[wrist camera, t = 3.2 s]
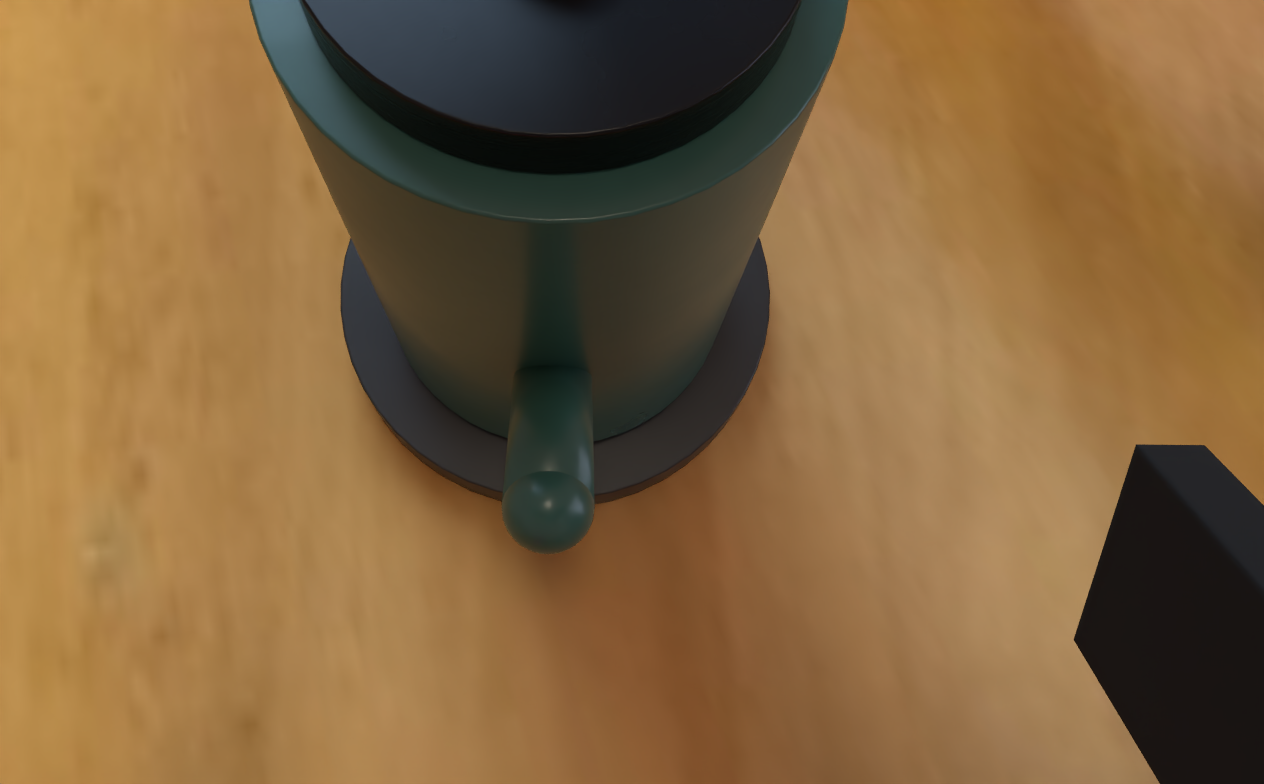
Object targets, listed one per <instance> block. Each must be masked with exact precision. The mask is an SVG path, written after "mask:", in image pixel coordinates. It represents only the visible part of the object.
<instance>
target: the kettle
mask: <svg viewBox="0 0 1264 784" xmlns="http://www.w3.org/2000/svg"><path fill="white" fill-rule="evenodd" d="M249 4H250V8H251V12H252V15H253V19H254V22H255V26H256V29H257V33H258V36H259V40H260V42H261V44H262V46H263V48H264V51H265V53H266V55H267V57H268V59H269V61H270V64H271V66H272V68H273V70H274V72H275V74H276V77H277V79H278V81H279V83H280V85H281V87H282V90H283V92H284V94H285V96H286V98H287V100H288V103H289V105H290V107H291V109H292V111H293V113H294V116H295V118H296V120H297V122H298V124H299V126H300V129H301V131H302V133H303V135H304V137H305V139H306V142H307V144H308V146H309V148H310V150H311V152H312V155H313V157H314V159H315V161H316V163H317V165H318V168H319V170H320V172H321V174H322V176H323V178H324V181H325V183H326V185H327V187H328V189H329V191H330V194H331V196H332V198H333V200H334V202H335V204H336V207H337V209H338V211H339V213H340V215H341V217H342V220H343V222H344V224H345V226H346V228H347V230H348V233H349V235H350V237H351V239H352V241H353V243H354V246H355V248H356V250H357V252H358V254H359V256H360V259H361V261H362V263H363V265H364V267H365V269H366V272H367V274H368V276H369V278H370V280H371V282H372V285H373V287H374V289H375V291H376V293H377V295H378V298H379V300H380V302H381V304H382V306H383V308H384V311H385V313H386V315H387V317H388V319H389V321H390V324H391V326H392V328H393V330H394V332H395V334H396V337H397V339H398V341H399V343H400V345H401V347H402V350H403V352H404V354H405V356H406V358H407V360H408V362H409V363H410V365H411V366H412V368H413V370H414V371H415V373H416V374H417V376H418V377H419V379H420V380H421V381H422V382H423V383H424V385H425V386H426V387H427V388H428V389H429V390H430V392H431V393H432V394H433V395H434V396H435V397H436V398H438V399H439V400H440V401H441V402H442V403H443V404H444V405H445V406H447V407H448V408H449V409H450V410H452V411H453V412H455V413H456V414H458V415H459V416H460V417H462V418H463V419H465V420H466V421H468V422H470V423H472V424H474V425H476V426H478V427H480V428H482V429H484V430H486V431H488V432H491V433H494V434H497V435H499V436H502V437H505V438H508V442H507V453H506V464H505V474H504V485H503V496H502V516H503V521H504V523H505V526H506V528H507V531H508V532H509V534H510V535H511V536H512V538H513V539H514V540H515V541H516V542H517V543H518V544H519V545H521V546H522V547H524V548H526V549H528V550H530V551H533V552H536V553H540V554H555V553H560V552H563V551H565V550H568V549H570V548H572V547H573V546H575V545H576V544H577V543H578V542H579V541H581V539H582V538H583V537H584V536H585V535H586V533H587V532H588V530H589V528H590V526H591V523H592V521H593V516H594V509H595V502H594V451H593V441H598V440H602V439H605V438H608V437H612V436H615V435H618V434H621V433H623V432H625V431H628V430H630V429H632V428H634V427H636V426H638V425H640V424H642V423H644V422H645V421H647V420H649V419H650V418H652V417H653V416H655V415H656V414H658V413H660V412H661V411H662V410H663V409H664V408H666V407H667V406H668V405H669V404H670V403H672V402H673V401H674V400H675V399H676V398H677V397H678V396H679V395H680V394H681V393H682V392H683V391H684V390H685V388H686V387H687V386H688V385H689V384H690V383H691V382H692V380H693V379H694V377H695V376H696V374H697V373H698V372H699V370H700V369H701V367H702V366H703V364H704V362H705V360H706V358H707V356H708V354H709V352H710V350H711V348H712V346H713V343H714V341H715V339H716V336H717V334H718V332H719V329H720V327H721V324H722V322H723V320H724V317H725V315H726V313H727V310H728V308H729V306H730V303H731V301H732V298H733V296H734V294H735V291H736V289H737V287H738V284H739V282H740V279H741V277H742V275H743V272H744V270H745V268H746V265H747V263H748V260H749V258H750V256H751V253H752V251H753V249H754V246H755V244H756V242H757V239H758V237H759V234H760V232H761V230H762V227H763V225H764V223H765V220H766V218H767V215H768V213H769V211H770V208H771V206H772V204H773V201H774V199H775V196H776V194H777V192H778V189H779V187H780V185H781V182H782V180H783V178H784V175H785V173H786V170H787V168H788V166H789V163H790V161H791V159H792V156H793V154H794V151H795V149H796V147H797V144H798V142H799V140H800V137H801V135H802V132H803V130H804V128H805V125H806V123H807V121H808V118H809V116H810V113H811V111H812V109H813V106H814V104H815V102H816V99H817V97H818V95H819V92H820V90H821V87H822V85H823V83H824V80H825V78H826V76H827V73H828V71H829V68H830V66H831V64H832V61H833V59H834V56H835V53H836V50H837V47H838V44H839V41H840V37H841V34H842V31H843V28H844V24H845V17H846V11H847V5H848V0H249Z"/></svg>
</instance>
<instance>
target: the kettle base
mask: <svg viewBox="0 0 1264 784" xmlns="http://www.w3.org/2000/svg"><path fill="white" fill-rule="evenodd" d="M769 304H770V290H769V280H768V271H767V265H766V261H765V257H764V253H763V249H762V245H761V241H760V239H759V237H758V239H757V242H756V244H755V246H754V249H753V251H752V253H751V256H750V258H749V260H748V263H747V265H746V268H745V270H744V272H743V275H742V277H741V279H740V282H739V284H738V287H737V289H736V291H735V294H734V296H733V298H732V301H731V303H730V306H729V308H728V310H727V313H726V315H725V317H724V320H723V322H722V324H721V327H720V329H719V332H718V334H717V336H716V339H715V341H714V343H713V346H712V348H711V350H710V352H709V354H708V356H707V358H706V360H705V362H704V364H703V366H702V367H701V369H700V370H699V372H698V373H697V374H696V376H695V377H694V379H693V380H692V382H691V383H690V384H689V385H688V386H687V387H686V388H685V390H684V391H683V392H682V393H681V394H680V395H679V396H678V397H677V398H676V399H675V400H674V401H673V402H672V403H670V404H669V405H668V406H667V407H666V408H664V409H663V410H662V411H661V412H660V413H658V414H656V415H655V416H653V417H652V418H650V419H649V420H647V421H645V422H644V423H642V424H640V425H638V426H636V427H634V428H632V429H630V430H628V431H625V432H623V433H621V434H618V435H615V436H612V437H608V438H605V439H602V440H598V441H593V451H594V502H595V504H598V503H603V502H608V501H613V500H616V499H619V498H622V497H625V496H628V495H631V494H634V493H637V492H639V491H641V490H643V489H645V488H648V487H650V486H652V485H654V484H656V483H658V482H660V481H662V480H664V479H665V478H667V477H668V476H670V475H671V474H673V473H674V472H676V471H677V470H679V469H681V468H682V467H684V466H685V465H686V464H688V463H689V462H690V461H691V460H692V459H693V458H694V457H696V456H697V455H698V454H699V453H700V452H701V451H703V450H704V449H705V448H706V447H707V446H708V445H709V443H710V442H711V441H712V440H713V439H714V438H715V437H716V436H717V434H718V433H719V432H720V431H721V430H722V429H723V428H724V426H725V425H726V423H727V422H728V420H729V419H730V417H731V416H732V414H733V412H734V411H735V409H736V408H737V406H738V405H739V403H740V401H741V400H742V398H743V396H744V395H745V393H746V391H747V389H748V387H749V385H750V382H751V380H752V378H753V376H754V374H755V372H756V370H757V367H758V364H759V361H760V358H761V354H762V351H763V348H764V345H765V340H766V334H767V328H768V322H769ZM341 316H342V323H343V331H344V338H345V341H346V345H347V348H348V352H349V355H350V359H351V362H352V365H353V367H354V369H355V371H356V374H357V376H358V378H359V380H360V383H361V385H362V387H363V389H364V391H365V392H366V394H367V395H368V397H369V398H370V400H371V402H372V403H373V405H374V406H375V408H376V410H377V411H378V413H379V414H380V416H381V417H382V419H383V420H384V422H385V424H386V425H387V426H388V427H389V428H390V429H391V431H392V432H393V433H394V434H395V435H396V437H397V438H398V439H399V440H400V441H401V443H402V444H403V445H404V446H405V447H407V448H408V449H409V450H410V451H411V452H412V453H413V454H414V455H415V456H417V457H418V458H419V459H420V460H421V461H422V462H423V463H425V464H426V465H428V466H429V467H431V468H432V469H433V470H435V471H436V472H438V473H439V474H441V475H442V476H444V477H445V478H447V479H449V480H451V481H453V482H455V483H457V484H459V485H461V486H463V487H465V488H467V489H469V490H471V491H473V492H476V493H479V494H482V495H485V496H488V497H491V498H494V499H496V500H500V501H502V496H503V485H504V474H505V464H506V453H507V442H508V438H505V437H502V436H499V435H497V434H494V433H491V432H488V431H486V430H484V429H482V428H480V427H478V426H476V425H474V424H472V423H470V422H468V421H466V420H465V419H463V418H462V417H460V416H459V415H458V414H456V413H455V412H453V411H452V410H450V409H449V408H448V407H447V406H445V405H444V404H443V403H442V402H441V401H440V400H439V399H438V398H436V397H435V396H434V395H433V394H432V393H431V392H430V390H429V389H428V388H427V387H426V386H425V385H424V383H423V382H422V381H421V380H420V379H419V377H418V376H417V374H416V373H415V371H414V370H413V368H412V366H411V365H410V363H409V362H408V360H407V358H406V356H405V354H404V352H403V350H402V347H401V345H400V343H399V341H398V339H397V337H396V334H395V332H394V330H393V328H392V326H391V324H390V321H389V319H388V317H387V315H386V313H385V311H384V308H383V306H382V304H381V302H380V300H379V298H378V295H377V293H376V291H375V289H374V287H373V285H372V282H371V280H370V278H369V276H368V274H367V272H366V269H365V267H364V265H363V263H362V261H361V259H360V256H359V254H358V252H357V250H356V248H355V246H354V243H353V241H352V239H351V238H350V242H349V245H348V249H347V252H346V255H345V260H344V266H343V273H342V280H341Z"/></svg>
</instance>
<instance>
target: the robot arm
mask: <svg viewBox="0 0 1264 784" xmlns="http://www.w3.org/2000/svg"><path fill="white" fill-rule="evenodd" d="M1074 641H1075V643H1076V644H1077V646H1078V648H1079V649H1080V651H1081V653H1082V654H1083V656H1084V658H1085V659H1086V661H1087V663H1088V664H1089V666H1090V668H1091V669H1092V671H1093V673H1094V674H1095V676H1096V678H1097V679H1098V681H1099V683H1100V684H1101V686H1102V688H1103V689H1104V691H1105V693H1106V694H1107V696H1108V698H1109V699H1110V701H1111V703H1112V704H1113V706H1114V708H1115V709H1116V711H1117V713H1118V714H1119V716H1120V718H1121V719H1122V721H1123V723H1124V724H1125V726H1126V728H1127V729H1128V731H1129V733H1130V734H1131V736H1132V738H1133V739H1134V741H1135V743H1136V744H1137V746H1138V748H1139V749H1140V751H1141V753H1142V754H1143V756H1144V758H1145V759H1146V761H1147V763H1148V764H1149V766H1150V768H1151V769H1152V771H1153V773H1154V774H1155V776H1156V778H1157V779H1158V781H1159V783H1160V784H1264V505H1263V504H1262V503H1261V502H1260V501H1259V500H1258V499H1257V498H1256V497H1255V496H1254V495H1253V494H1252V493H1251V492H1250V491H1249V490H1248V489H1247V488H1246V487H1245V486H1244V485H1243V484H1242V483H1241V482H1240V481H1239V480H1238V479H1237V478H1236V477H1235V476H1234V475H1233V474H1232V473H1231V472H1230V471H1229V470H1228V469H1227V468H1226V467H1225V466H1224V465H1223V464H1222V463H1221V462H1220V461H1219V460H1218V459H1217V458H1216V457H1215V455H1214V454H1213V453H1212V452H1211V451H1210V450H1209V449H1208V448H1207V447H1206V446H1205V445H1136V447H1135V450H1134V453H1133V456H1132V459H1131V462H1130V465H1129V469H1128V472H1127V475H1126V478H1125V481H1124V484H1123V487H1122V490H1121V494H1120V497H1119V500H1118V503H1117V506H1116V509H1115V512H1114V515H1113V519H1112V522H1111V525H1110V528H1109V531H1108V534H1107V537H1106V540H1105V544H1104V547H1103V550H1102V553H1101V556H1100V559H1099V562H1098V565H1097V569H1096V572H1095V575H1094V578H1093V581H1092V584H1091V587H1090V590H1089V594H1088V597H1087V600H1086V603H1085V606H1084V609H1083V612H1082V615H1081V619H1080V622H1079V625H1078V628H1077V631H1076V634H1075V637H1074Z"/></svg>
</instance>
